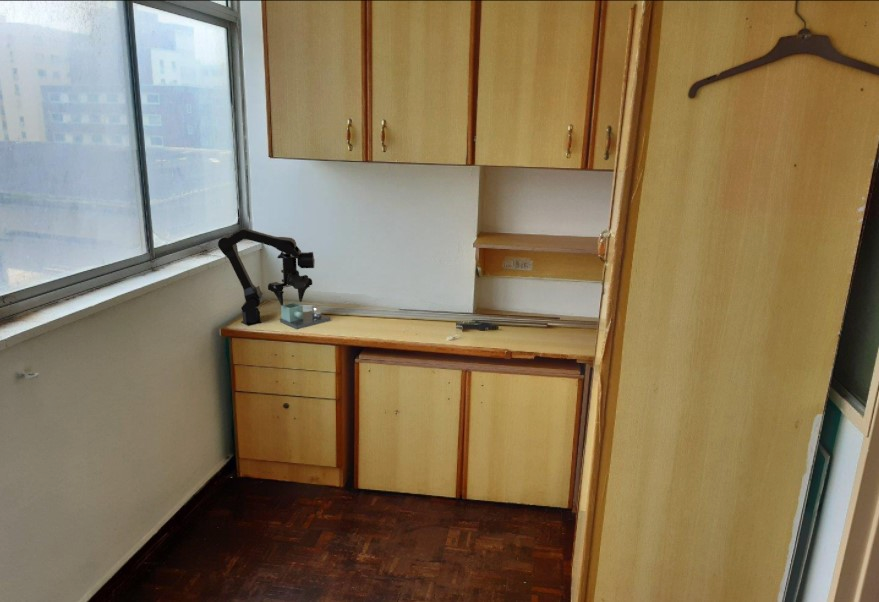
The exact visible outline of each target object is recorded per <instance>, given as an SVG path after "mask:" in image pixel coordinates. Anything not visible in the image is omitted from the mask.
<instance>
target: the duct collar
mask: <svg viewBox="0 0 879 602" xmlns="http://www.w3.org/2000/svg"><path fill="white" fill-rule="evenodd" d="M303 313H304V308H303V305H301V304H299V303H298V302H297V303H296V302H289V303H284V304H283V306H282V305H281V304H280V314H281V318H282V319H284V320H286V321H288V322H293V321H297V320H301V319H303Z"/></svg>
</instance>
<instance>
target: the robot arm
mask: <svg viewBox="0 0 879 602" xmlns="http://www.w3.org/2000/svg"><path fill="white" fill-rule="evenodd" d="M243 240H247V241H248V240H249V241H252V242H256V243H259V244H262V245H265V246H266V245H267V246H269V247H270V246H271V247H273V248H274V249H277V251H279V252H280V254H278V256H277V259H282V269H281V271H280V272H281V273H282V277H283V278H282V279H281V282H278V281H273V282H269V283H268V285H267V289H268V291H270V292H273V293H274V295H275V297H276V298H277V300H278V301H279V304H280V306H281V305H282V306H283V305H284V295H283V294H284V293H285V291H284V289H285V288H288V287H293V289H295V290H297V294H298V295H297V296H298V300H299V302H300V303H301V302H302V301H303V299H304V295H305V292H306V291H307V289H308V288H310V287H311V286H313V279H312V278H311V277H309V276H308V275H307V274H304V275H300V271H299V270H297V266H298V267H299V268H300V269H314V268H315V256H314V252H313V251H309V252H303V251H302V250H301V249H300V248H299V247H298V245H297V242H296V240H295V239H294V238H292V237H287V236H274V235H270V234H268V233H267V234H266V233H264V232H260V231H256V230H254V229H253V230H252V229H249V228H248V227H242V228H241V229H240V230H238V231H236V232H233V233H232V234H225V235H223V236H222V237H221V238H219V240H218V242H217V247H218V248H219V250H220V251H221V253H222V254H223V255H224V256H225V257H226V258H227V259H228V260H229V263H230V264H231V266H232V269H233V271H234V273H235V275H236V276H237V278H238V281H239V283H240V285H241V287H242V290H243V296H244V299H245V302H244V303H243V304H242V305H241V307H240V308H241V309H240V310H241V312H242V313H241V315H242V320H241V321H240V323H242V324H243V325H246V326H254V325H258V324H262V321H261V311H260V308H259V306H260V304H261V303H262V301H263V295H264V293H263V292H262V290H261V288H260V286H259V285H257V286H255V285H254V283H253V281H252V279H251V278H250V276H249V274H248V271H247V269H246V267H245V265H244V263H243V261H242V259H241V257H240V255H239V251H238V245H237V243H240V242H241V241H243Z"/></svg>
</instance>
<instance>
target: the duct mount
mask: <svg viewBox="0 0 879 602" xmlns="http://www.w3.org/2000/svg"><path fill="white" fill-rule="evenodd" d="M330 321H331V318H330V317H329V316H326V315H325V314H322V305H320V304H313V305H312V306H311V311H307V312H303V319H301V320H297V321H293V322H288V321H286V320H284V319H282V317H281V318H279V322H280V323H281V324H283V325H286V326H287V327H291V328H293V329H295V330H298V329H304V328H307V327H312V326H315V325H319V324H323V323H326V322H327V323H328V322H330Z"/></svg>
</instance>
